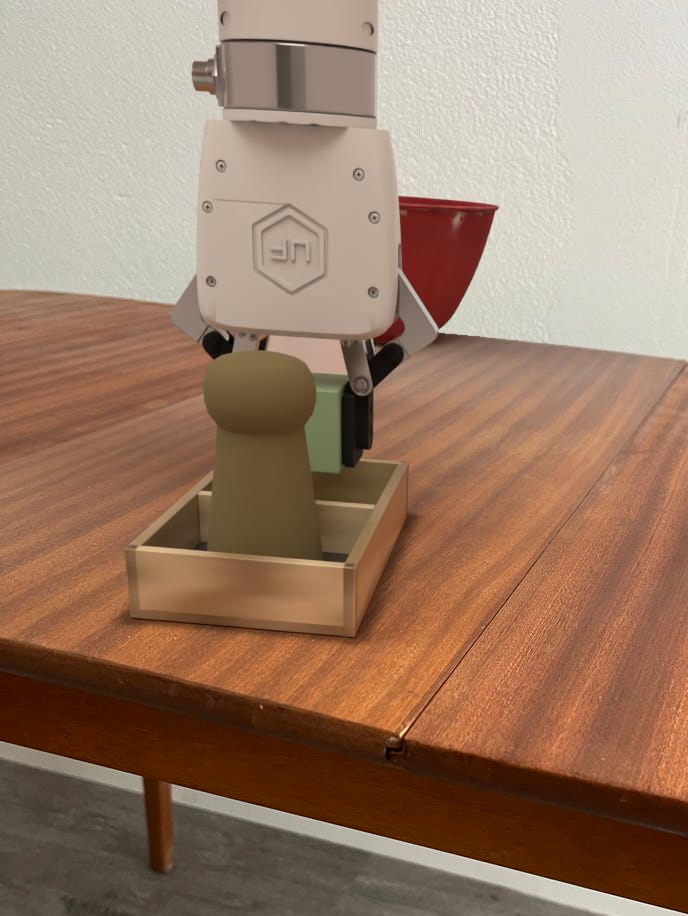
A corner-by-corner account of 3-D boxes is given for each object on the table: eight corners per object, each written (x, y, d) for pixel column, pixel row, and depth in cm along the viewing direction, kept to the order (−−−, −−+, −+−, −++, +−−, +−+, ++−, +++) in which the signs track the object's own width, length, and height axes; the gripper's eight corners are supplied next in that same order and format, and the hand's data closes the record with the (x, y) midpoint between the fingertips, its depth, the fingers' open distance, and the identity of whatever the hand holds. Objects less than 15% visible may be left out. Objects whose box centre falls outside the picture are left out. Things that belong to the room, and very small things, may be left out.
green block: (257, 468, 56) (254, 385, 54) (278, 447, 60) (275, 369, 58) (338, 474, 56) (338, 391, 54) (354, 452, 60) (354, 375, 58)
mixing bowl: (261, 311, 134) (257, 183, 128) (477, 321, 138) (484, 196, 131) (240, 351, 109) (234, 193, 102) (504, 361, 113) (515, 209, 106)
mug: (218, 417, 83) (212, 284, 79) (209, 395, 90) (202, 271, 86) (363, 415, 87) (365, 287, 82) (343, 393, 94) (344, 274, 89)
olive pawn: (194, 559, 53) (181, 342, 49) (308, 549, 56) (306, 341, 51) (216, 604, 48) (203, 367, 44) (340, 591, 51) (340, 365, 46)
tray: (130, 618, 48) (123, 548, 47) (238, 502, 64) (236, 448, 63) (354, 637, 48) (355, 568, 46) (407, 516, 64) (408, 461, 62)
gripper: (99, 78, 47) (135, 465, 55) (465, 99, 46) (448, 488, 54) (158, 88, 54) (182, 431, 62) (478, 106, 53) (461, 451, 61)
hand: (307, 454), depth 58 cm, fingers closed on green block, 4 cm apart
